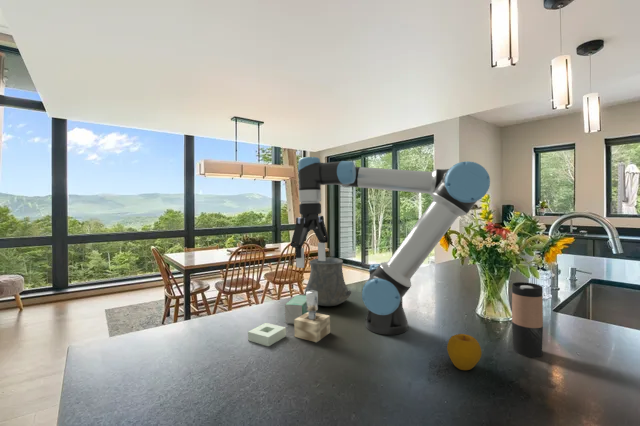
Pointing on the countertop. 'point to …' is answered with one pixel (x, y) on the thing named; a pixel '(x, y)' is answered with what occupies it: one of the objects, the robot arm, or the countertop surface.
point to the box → (295, 308)
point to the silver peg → (312, 303)
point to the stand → (266, 334)
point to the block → (312, 327)
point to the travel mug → (527, 319)
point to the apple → (464, 351)
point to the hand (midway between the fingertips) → (311, 264)
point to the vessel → (328, 281)
